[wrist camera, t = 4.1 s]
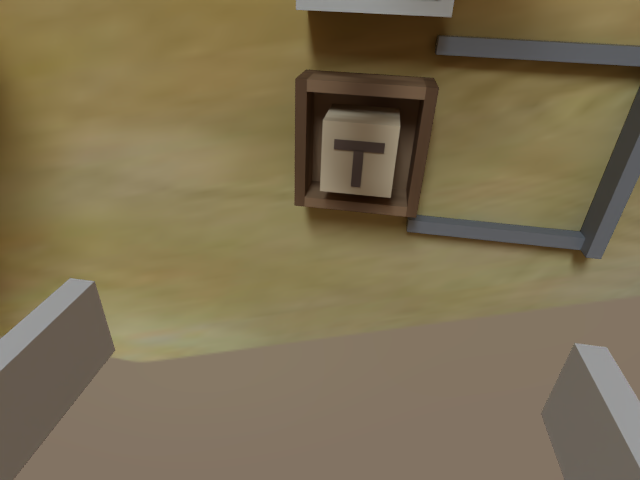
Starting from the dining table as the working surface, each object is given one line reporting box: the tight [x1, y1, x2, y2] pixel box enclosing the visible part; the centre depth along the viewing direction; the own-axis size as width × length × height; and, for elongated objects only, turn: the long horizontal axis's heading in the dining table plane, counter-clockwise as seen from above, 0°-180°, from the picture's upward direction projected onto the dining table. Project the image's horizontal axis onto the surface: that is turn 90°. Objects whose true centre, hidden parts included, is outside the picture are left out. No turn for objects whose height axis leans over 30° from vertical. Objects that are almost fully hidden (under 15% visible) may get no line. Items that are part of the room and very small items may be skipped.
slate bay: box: [406, 35, 640, 259], centre depth 27 cm, size 14×13×2 cm
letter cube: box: [320, 103, 400, 198], centre depth 27 cm, size 4×4×5 cm
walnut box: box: [295, 70, 439, 218], centre depth 28 cm, size 8×8×4 cm
